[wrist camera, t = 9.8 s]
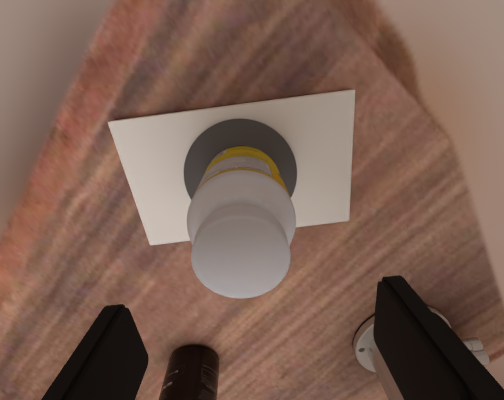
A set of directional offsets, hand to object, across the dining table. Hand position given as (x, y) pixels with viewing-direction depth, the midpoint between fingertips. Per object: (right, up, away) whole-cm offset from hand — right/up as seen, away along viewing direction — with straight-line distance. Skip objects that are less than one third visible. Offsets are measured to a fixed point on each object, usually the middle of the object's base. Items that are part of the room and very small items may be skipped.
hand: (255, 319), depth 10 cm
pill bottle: (-1, +6, +13) cm, 14 cm away
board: (-1, +7, +14) cm, 16 cm away
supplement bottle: (-8, -17, +25) cm, 32 cm away
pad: (-1, +7, +13) cm, 15 cm away
